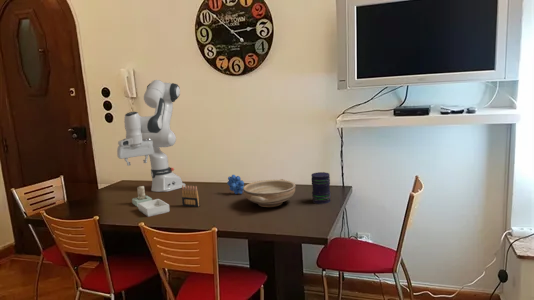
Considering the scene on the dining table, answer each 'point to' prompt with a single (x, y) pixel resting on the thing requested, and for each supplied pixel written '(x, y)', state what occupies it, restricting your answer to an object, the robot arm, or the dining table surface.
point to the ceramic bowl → (269, 192)
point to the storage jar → (321, 188)
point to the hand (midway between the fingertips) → (137, 164)
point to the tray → (153, 207)
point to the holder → (136, 201)
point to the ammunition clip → (190, 196)
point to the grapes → (235, 184)
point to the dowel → (141, 193)
